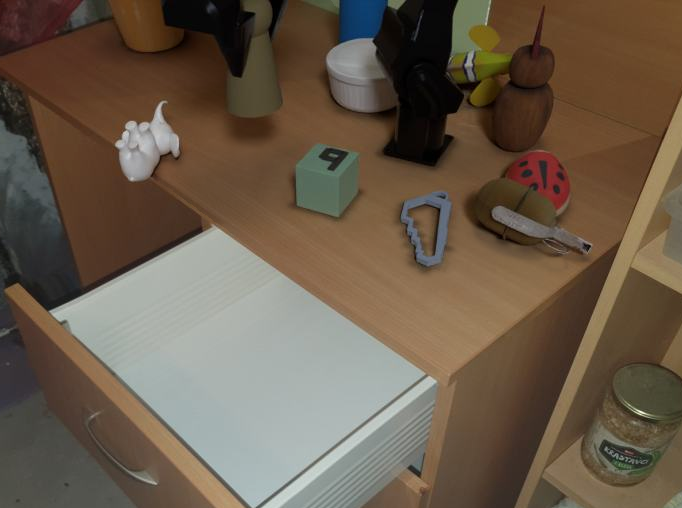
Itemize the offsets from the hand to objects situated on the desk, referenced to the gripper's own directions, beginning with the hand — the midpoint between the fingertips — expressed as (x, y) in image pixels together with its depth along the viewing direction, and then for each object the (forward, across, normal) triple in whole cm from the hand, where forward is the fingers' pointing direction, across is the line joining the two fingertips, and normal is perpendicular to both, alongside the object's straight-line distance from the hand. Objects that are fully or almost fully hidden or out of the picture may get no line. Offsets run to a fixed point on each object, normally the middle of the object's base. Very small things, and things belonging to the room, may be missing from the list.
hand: (249, 67), depth 74 cm
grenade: (+9, -1, +25) cm, 26 cm away
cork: (+4, 0, 0) cm, 4 cm away
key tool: (+12, +3, +18) cm, 22 cm away
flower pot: (+12, -24, -32) cm, 42 cm away
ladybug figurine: (+12, -9, +29) cm, 33 cm away
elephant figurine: (+6, +4, -12) cm, 14 cm away
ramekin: (+12, -21, +4) cm, 25 cm away
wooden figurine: (+13, -18, +24) cm, 33 cm away
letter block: (+12, +2, +10) cm, 16 cm away
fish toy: (+7, -22, +14) cm, 27 cm away
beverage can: (+13, -31, -1) cm, 34 cm away
